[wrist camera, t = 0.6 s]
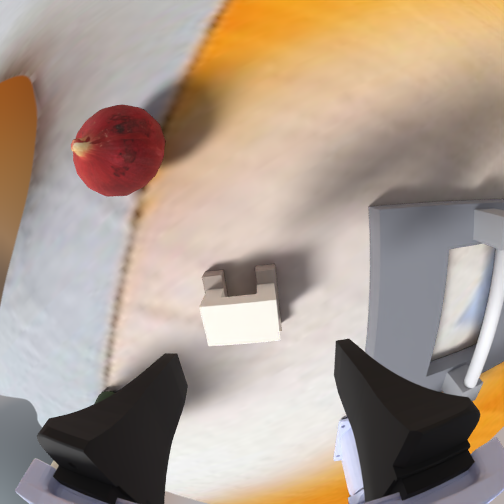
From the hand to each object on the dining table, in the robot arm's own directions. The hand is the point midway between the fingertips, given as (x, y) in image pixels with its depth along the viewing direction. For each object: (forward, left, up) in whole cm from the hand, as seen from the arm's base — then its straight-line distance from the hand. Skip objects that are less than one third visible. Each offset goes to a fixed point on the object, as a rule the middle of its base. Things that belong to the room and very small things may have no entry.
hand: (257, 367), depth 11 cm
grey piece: (-5, -20, -9) cm, 22 cm away
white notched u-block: (-1, +1, -10) cm, 10 cm away
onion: (+11, +7, -10) cm, 16 cm away
